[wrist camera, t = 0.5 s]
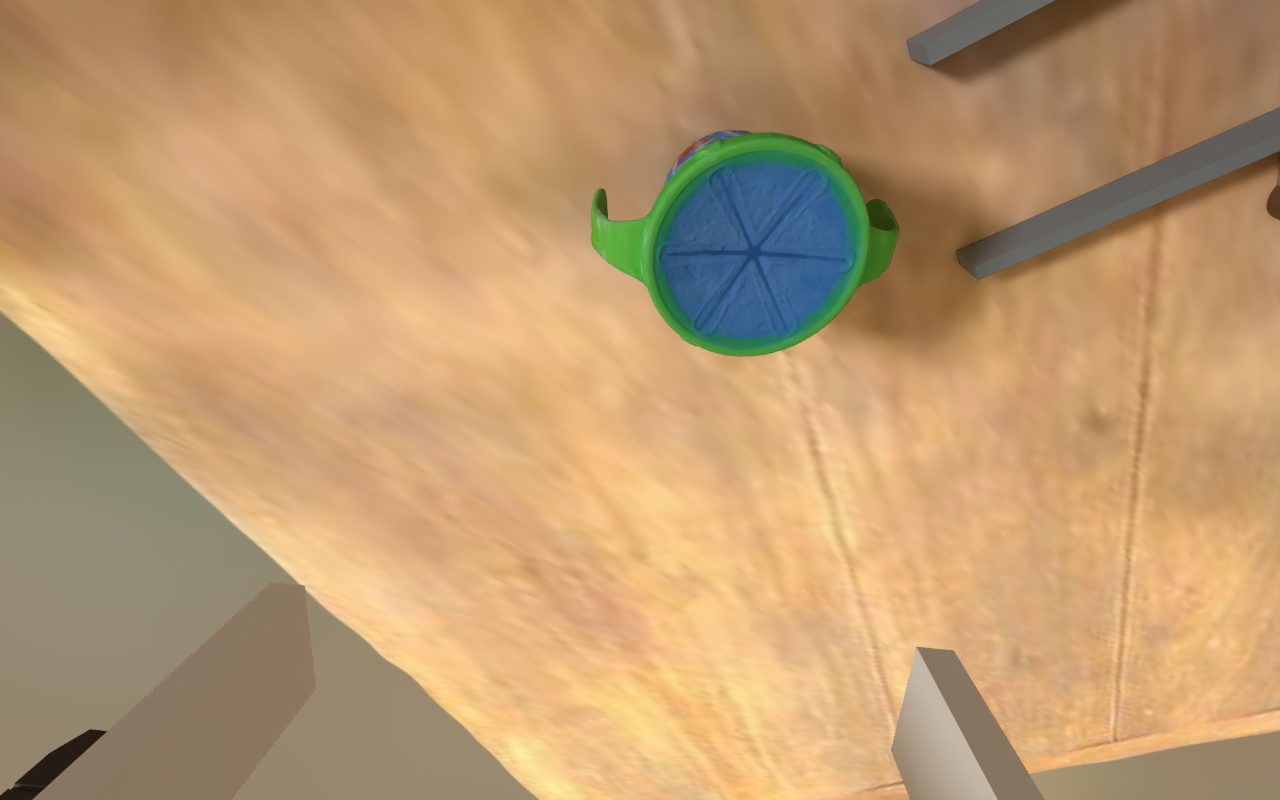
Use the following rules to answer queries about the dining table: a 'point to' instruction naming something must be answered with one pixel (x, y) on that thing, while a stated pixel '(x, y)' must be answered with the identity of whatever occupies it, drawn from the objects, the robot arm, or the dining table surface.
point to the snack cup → (751, 242)
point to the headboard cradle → (1111, 201)
